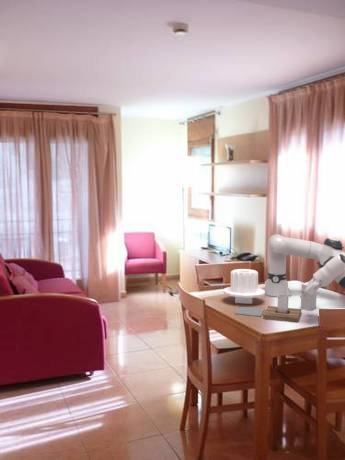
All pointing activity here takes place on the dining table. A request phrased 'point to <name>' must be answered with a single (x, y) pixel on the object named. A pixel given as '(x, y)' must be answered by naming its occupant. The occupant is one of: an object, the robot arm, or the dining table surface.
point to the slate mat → (250, 311)
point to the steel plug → (282, 304)
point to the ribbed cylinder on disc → (244, 286)
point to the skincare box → (308, 300)
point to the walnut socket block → (282, 314)
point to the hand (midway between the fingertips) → (301, 295)
